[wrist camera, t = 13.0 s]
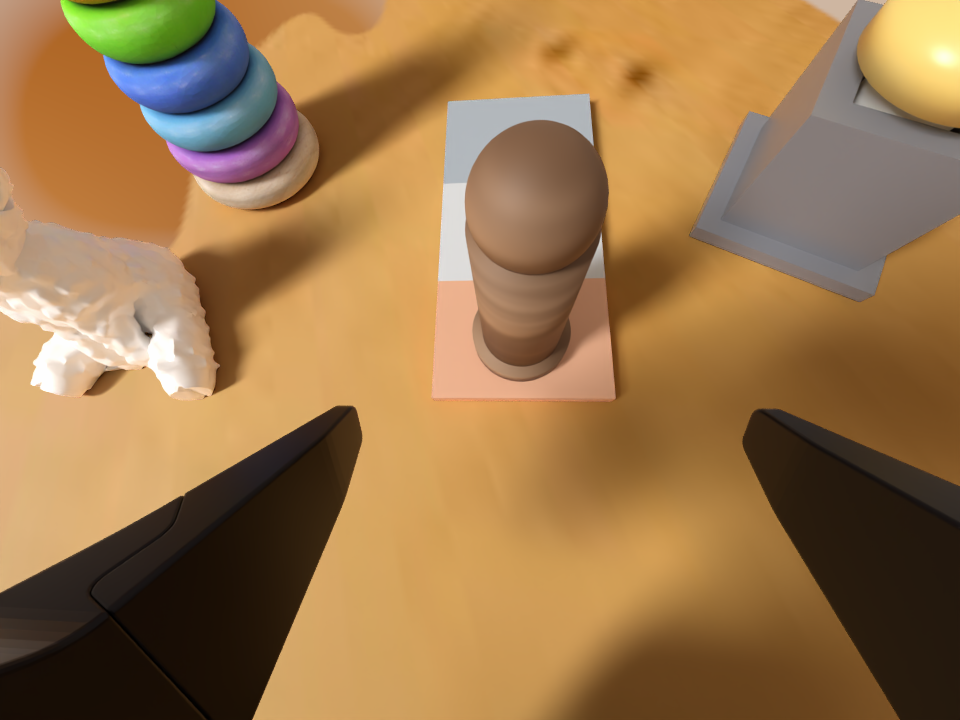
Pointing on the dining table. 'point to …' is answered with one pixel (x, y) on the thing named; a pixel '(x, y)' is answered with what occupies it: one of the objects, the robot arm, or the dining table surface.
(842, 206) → the box
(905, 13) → the dome button
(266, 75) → the stacking toy
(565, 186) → the brown round-topped post
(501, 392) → the game board
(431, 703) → the dining table surface
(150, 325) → the seated beast figurine
